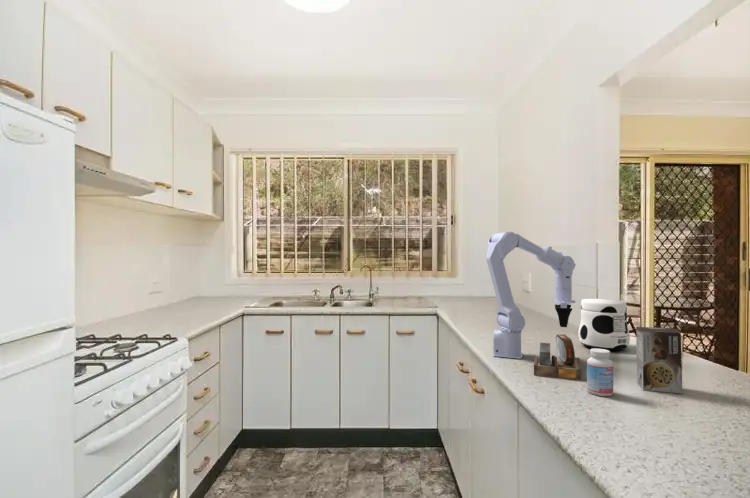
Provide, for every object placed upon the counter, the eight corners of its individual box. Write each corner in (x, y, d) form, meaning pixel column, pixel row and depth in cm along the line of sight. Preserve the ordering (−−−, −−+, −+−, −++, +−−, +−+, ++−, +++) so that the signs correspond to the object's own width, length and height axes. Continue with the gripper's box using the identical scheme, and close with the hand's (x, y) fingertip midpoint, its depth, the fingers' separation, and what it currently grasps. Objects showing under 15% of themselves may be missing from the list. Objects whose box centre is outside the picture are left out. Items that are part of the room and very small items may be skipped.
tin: (575, 367, 131) (575, 340, 132) (565, 366, 132) (565, 340, 132) (564, 356, 146) (563, 332, 146) (554, 355, 147) (554, 331, 147)
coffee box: (673, 386, 114) (673, 327, 114) (682, 394, 107) (682, 332, 108) (635, 383, 117) (635, 326, 117) (642, 390, 110) (642, 330, 110)
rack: (533, 375, 124) (533, 352, 124) (535, 362, 138) (535, 341, 138) (582, 380, 119) (582, 356, 119) (579, 366, 133) (578, 344, 133)
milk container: (582, 340, 171) (582, 297, 171) (631, 346, 160) (631, 300, 160) (574, 349, 156) (574, 301, 157) (627, 355, 146) (627, 305, 146)
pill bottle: (603, 398, 105) (603, 354, 105) (582, 391, 110) (581, 349, 110) (618, 394, 107) (618, 351, 107) (596, 387, 113) (596, 346, 113)
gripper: (576, 290, 143) (576, 329, 143) (574, 287, 156) (574, 322, 156) (554, 289, 146) (554, 328, 146) (553, 286, 159) (553, 321, 159)
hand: (563, 325), depth 151 cm, fingers open, 6 cm apart
